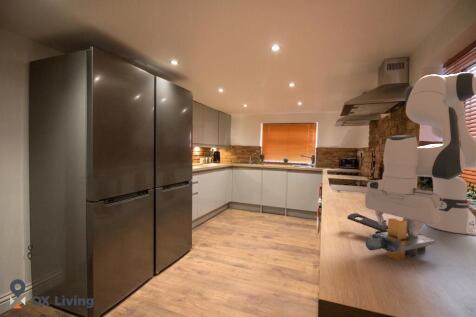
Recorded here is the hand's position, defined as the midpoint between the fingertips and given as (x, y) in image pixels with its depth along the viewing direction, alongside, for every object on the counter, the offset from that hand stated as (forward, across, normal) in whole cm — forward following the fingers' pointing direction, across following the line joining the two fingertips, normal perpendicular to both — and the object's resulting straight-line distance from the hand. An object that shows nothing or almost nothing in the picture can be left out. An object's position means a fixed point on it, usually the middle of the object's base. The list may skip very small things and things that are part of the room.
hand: (396, 229), depth 69 cm
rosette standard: (+9, 0, +1) cm, 9 cm away
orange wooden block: (+9, 0, 0) cm, 9 cm away
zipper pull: (+9, +11, -10) cm, 18 cm away
